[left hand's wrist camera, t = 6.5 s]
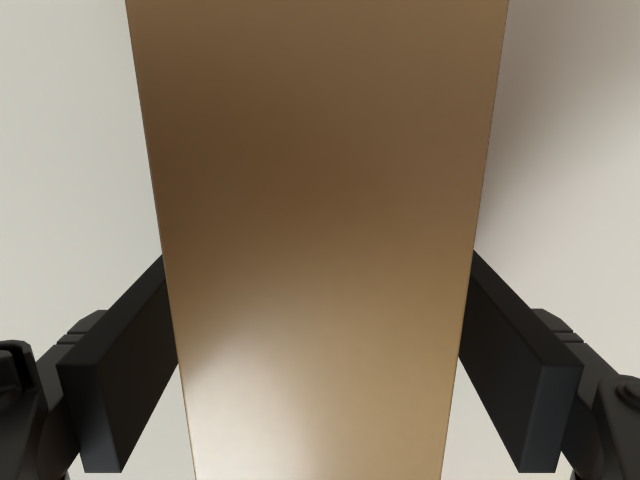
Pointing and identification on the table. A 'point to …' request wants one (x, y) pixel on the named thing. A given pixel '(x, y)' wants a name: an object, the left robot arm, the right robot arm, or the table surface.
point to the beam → (317, 222)
